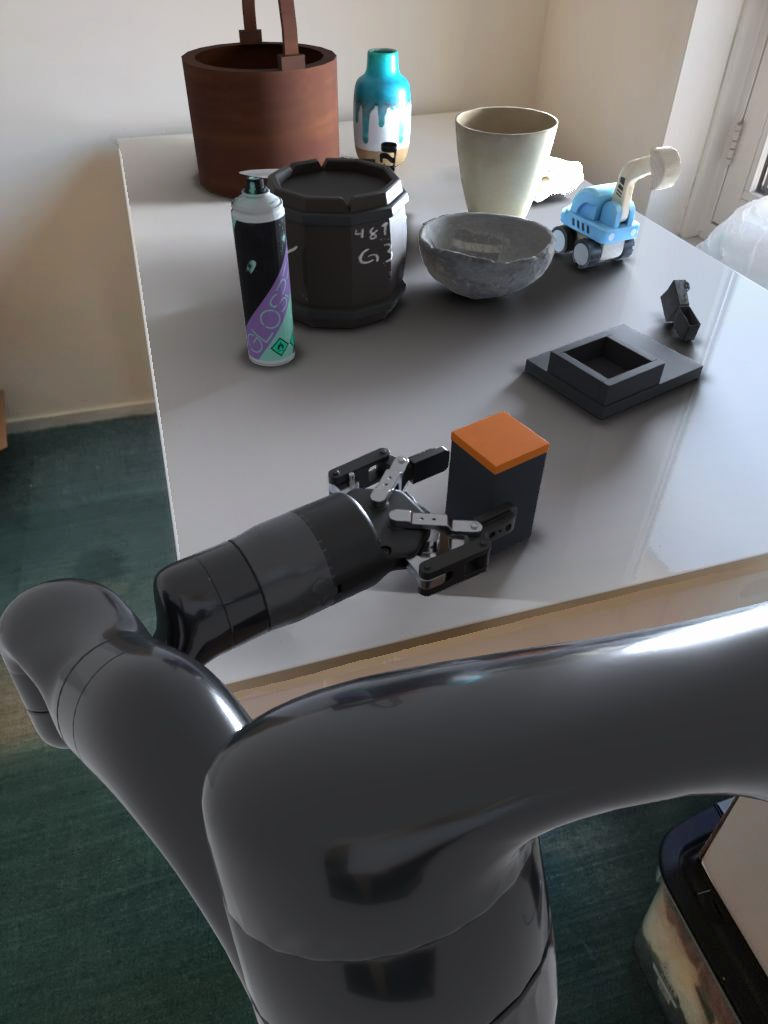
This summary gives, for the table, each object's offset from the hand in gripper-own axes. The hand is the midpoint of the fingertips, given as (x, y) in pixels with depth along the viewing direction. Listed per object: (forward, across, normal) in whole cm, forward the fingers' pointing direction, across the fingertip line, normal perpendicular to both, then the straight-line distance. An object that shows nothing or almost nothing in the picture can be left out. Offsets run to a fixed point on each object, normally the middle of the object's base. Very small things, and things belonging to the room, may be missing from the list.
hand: (478, 484), depth 60 cm
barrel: (+13, -46, -6) cm, 48 cm away
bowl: (+32, -38, -6) cm, 50 cm away
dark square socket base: (+31, -13, -6) cm, 34 cm away
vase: (+50, -90, -6) cm, 103 cm away
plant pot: (+48, -54, -6) cm, 73 cm away
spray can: (0, -37, -6) cm, 38 cm away
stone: (+69, -66, -6) cm, 96 cm away
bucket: (+29, -96, -6) cm, 101 cm away
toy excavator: (+52, -36, -6) cm, 64 cm away
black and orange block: (+2, 0, -6) cm, 6 cm away
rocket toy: (+23, -66, -6) cm, 71 cm away
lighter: (+46, -16, -6) cm, 50 cm away
